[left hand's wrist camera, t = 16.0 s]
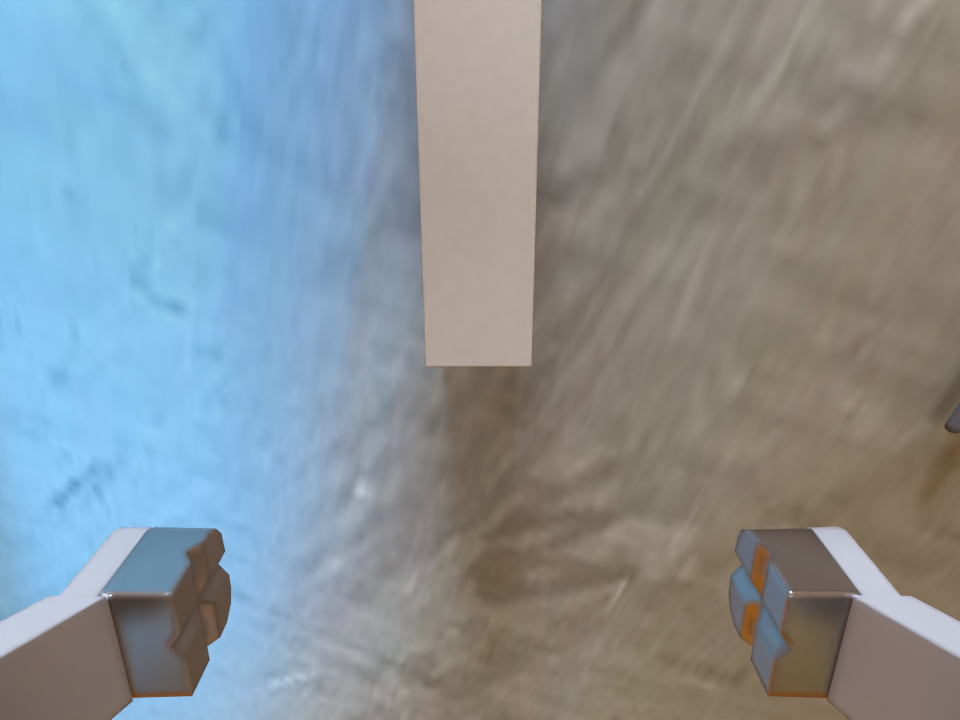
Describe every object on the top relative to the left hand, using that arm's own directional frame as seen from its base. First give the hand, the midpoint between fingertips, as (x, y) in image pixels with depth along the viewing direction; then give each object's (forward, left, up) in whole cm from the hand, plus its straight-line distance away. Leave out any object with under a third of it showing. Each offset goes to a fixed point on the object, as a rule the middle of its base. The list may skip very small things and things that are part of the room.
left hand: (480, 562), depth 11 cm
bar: (-3, +9, -28) cm, 29 cm away
